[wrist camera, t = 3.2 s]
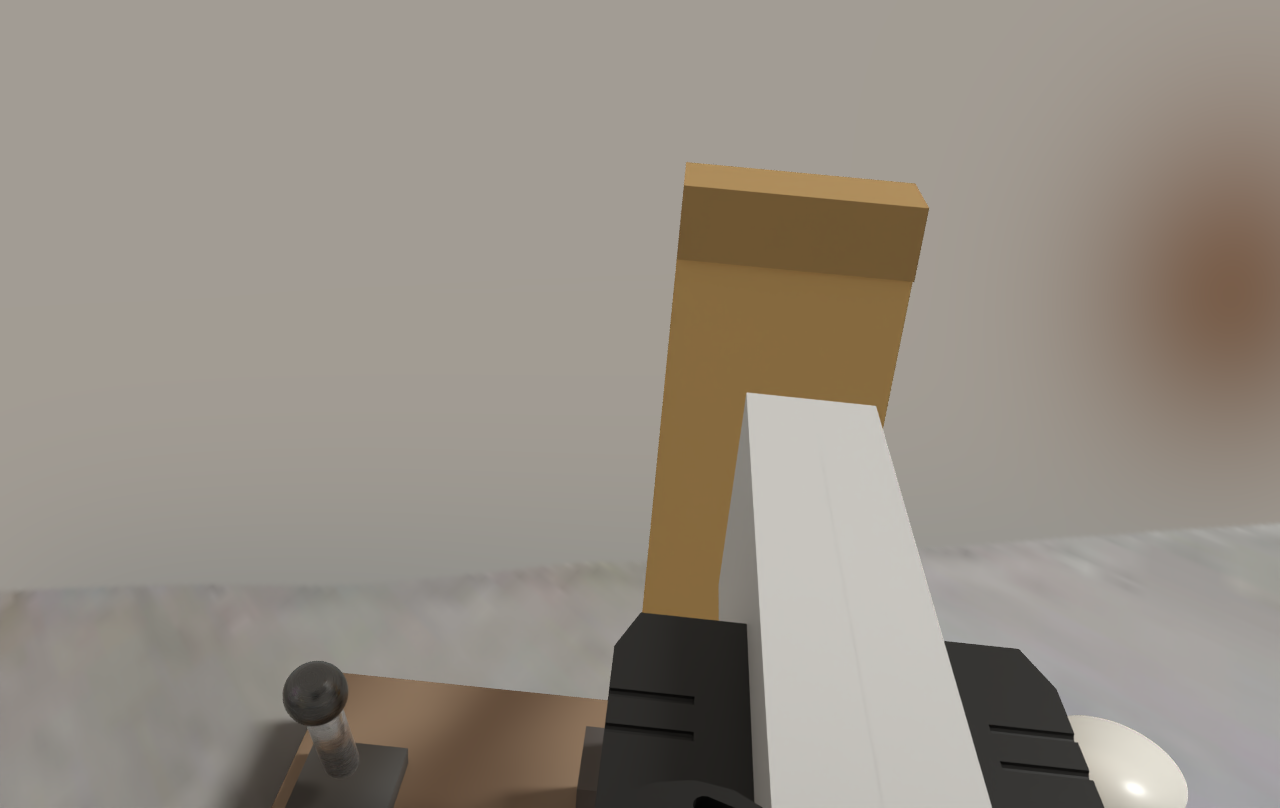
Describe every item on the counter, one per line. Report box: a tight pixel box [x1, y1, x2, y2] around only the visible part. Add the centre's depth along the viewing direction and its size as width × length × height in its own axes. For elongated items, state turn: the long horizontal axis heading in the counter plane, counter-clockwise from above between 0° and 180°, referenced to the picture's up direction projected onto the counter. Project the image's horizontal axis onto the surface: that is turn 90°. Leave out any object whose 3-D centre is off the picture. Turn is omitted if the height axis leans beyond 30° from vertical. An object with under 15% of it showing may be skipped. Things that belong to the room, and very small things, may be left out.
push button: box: [1067, 715, 1188, 808], centre depth 31 cm, size 4×4×2 cm
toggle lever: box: [283, 661, 359, 779], centre depth 30 cm, size 2×2×5 cm
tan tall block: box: [642, 162, 929, 621], centre depth 28 cm, size 5×2×18 cm, turn 86°
